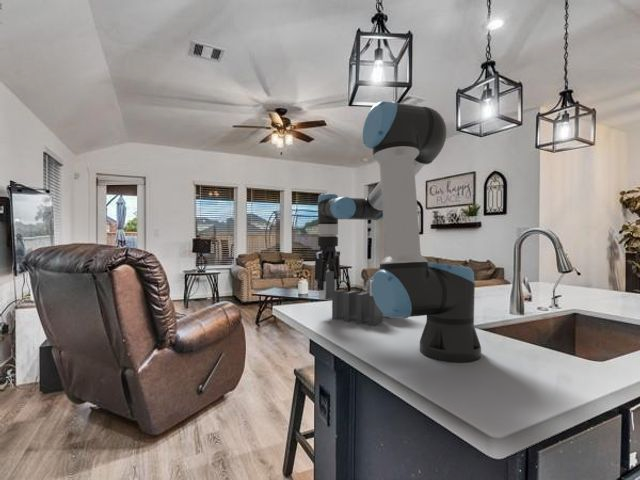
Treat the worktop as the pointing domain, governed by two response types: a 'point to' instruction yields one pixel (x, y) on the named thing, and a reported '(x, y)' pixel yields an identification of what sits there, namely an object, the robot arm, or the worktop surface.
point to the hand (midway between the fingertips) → (327, 297)
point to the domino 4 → (362, 307)
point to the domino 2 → (338, 304)
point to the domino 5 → (374, 313)
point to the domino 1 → (329, 284)
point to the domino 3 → (350, 306)
